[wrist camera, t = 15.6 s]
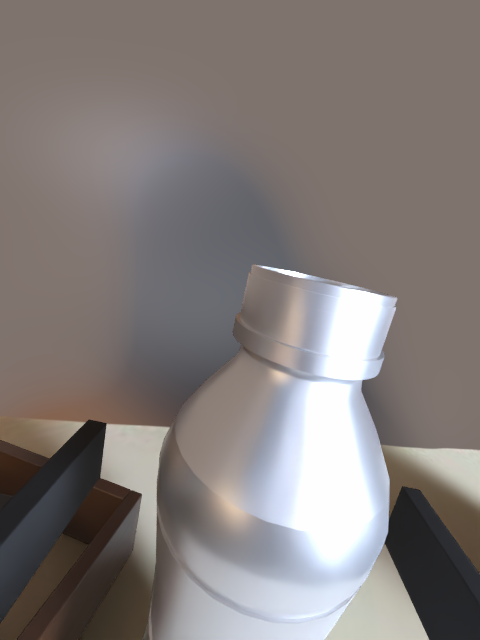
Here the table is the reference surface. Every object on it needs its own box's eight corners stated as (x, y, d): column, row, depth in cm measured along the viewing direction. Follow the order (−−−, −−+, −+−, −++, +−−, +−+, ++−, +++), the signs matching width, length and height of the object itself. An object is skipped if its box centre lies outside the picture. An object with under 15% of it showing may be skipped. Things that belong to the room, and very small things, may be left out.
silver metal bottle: (47, 850, 10) (117, 238, 5) (171, 627, 16) (250, 260, 11) (217, 1078, 7) (586, 350, 3) (283, 716, 14) (436, 302, 9)
